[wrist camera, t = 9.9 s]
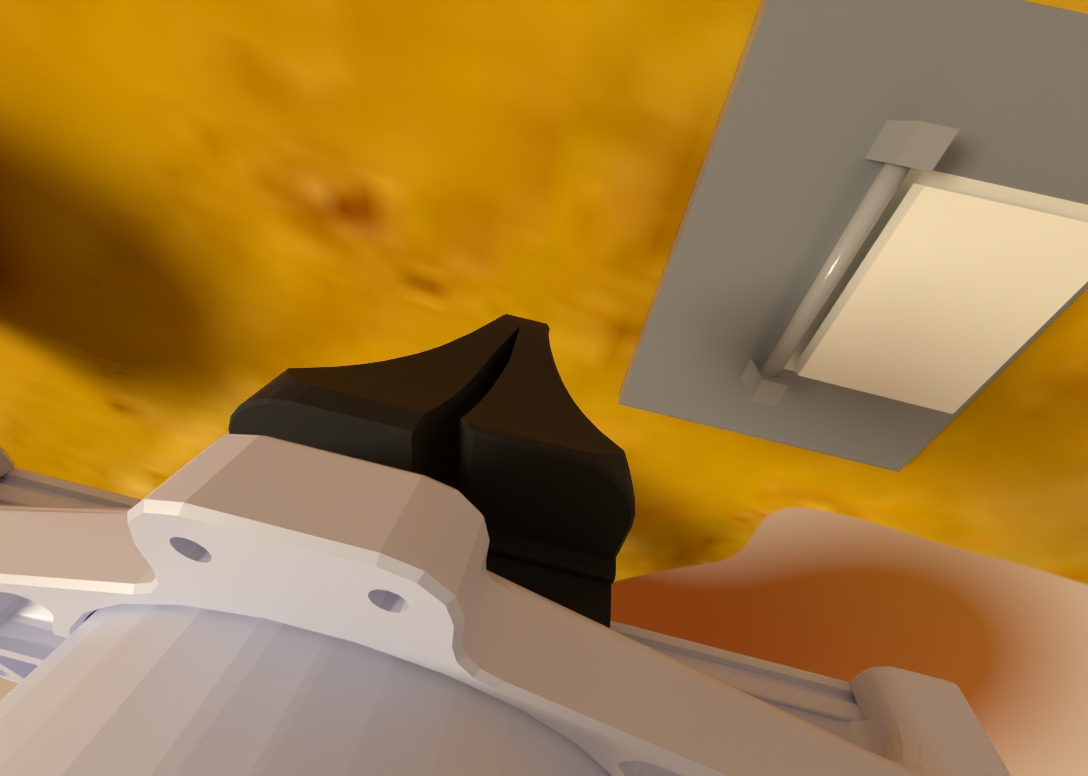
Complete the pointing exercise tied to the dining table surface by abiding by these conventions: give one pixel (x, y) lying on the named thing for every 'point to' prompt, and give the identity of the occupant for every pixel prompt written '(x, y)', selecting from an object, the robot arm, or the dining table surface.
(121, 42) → the dining table surface
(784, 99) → the grey flat piece
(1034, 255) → the tile
